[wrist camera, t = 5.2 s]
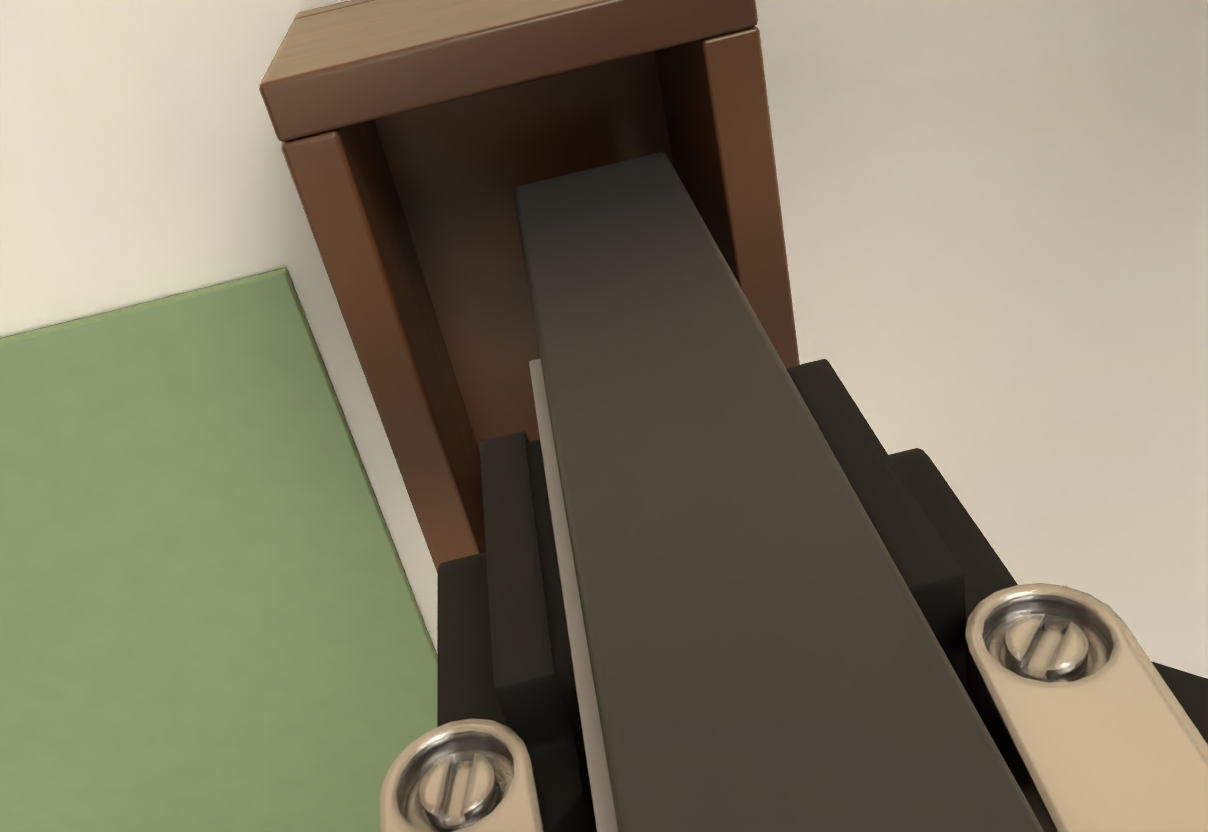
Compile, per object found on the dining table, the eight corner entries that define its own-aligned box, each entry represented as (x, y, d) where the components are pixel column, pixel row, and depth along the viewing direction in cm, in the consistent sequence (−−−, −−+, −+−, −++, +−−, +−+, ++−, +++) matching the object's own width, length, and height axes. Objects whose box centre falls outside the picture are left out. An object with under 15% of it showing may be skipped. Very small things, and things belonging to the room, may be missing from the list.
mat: (-662, 501, 20) (-675, 510, 20) (285, 266, 20) (284, 273, 20) (-89, 1061, 30) (-93, 1072, 30) (531, 899, 31) (532, 908, 31)
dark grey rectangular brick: (488, 191, 16) (615, 1343, 5) (665, 148, 16) (1252, 1187, 5) (555, 437, 19) (750, 1597, 7) (709, 400, 19) (1161, 1499, 7)
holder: (294, 13, 18) (256, 85, 14) (673, -79, 18) (752, -36, 14) (462, 506, 24) (471, 669, 19) (752, 433, 24) (826, 577, 20)
